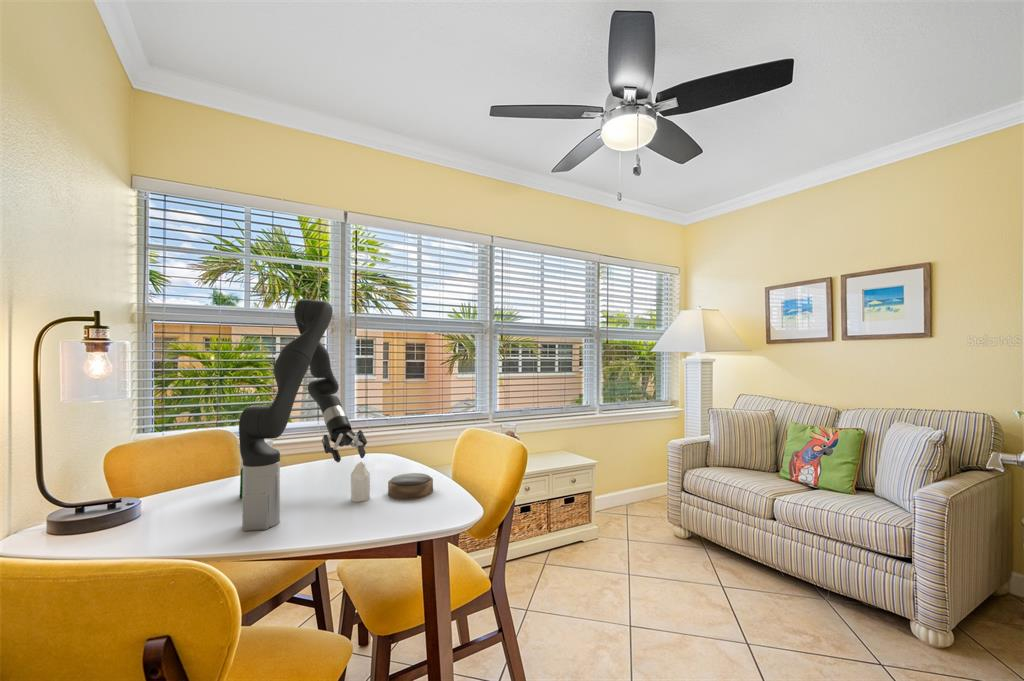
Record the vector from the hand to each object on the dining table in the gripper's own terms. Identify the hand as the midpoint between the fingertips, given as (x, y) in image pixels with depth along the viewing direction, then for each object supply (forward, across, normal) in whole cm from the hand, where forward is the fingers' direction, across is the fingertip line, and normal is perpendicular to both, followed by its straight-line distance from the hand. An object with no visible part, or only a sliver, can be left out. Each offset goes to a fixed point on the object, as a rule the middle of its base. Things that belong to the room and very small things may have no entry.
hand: (351, 458), depth 155 cm
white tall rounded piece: (+13, 0, +4) cm, 14 cm away
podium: (+17, +15, 0) cm, 23 cm away
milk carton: (-8, -22, +26) cm, 35 cm away
